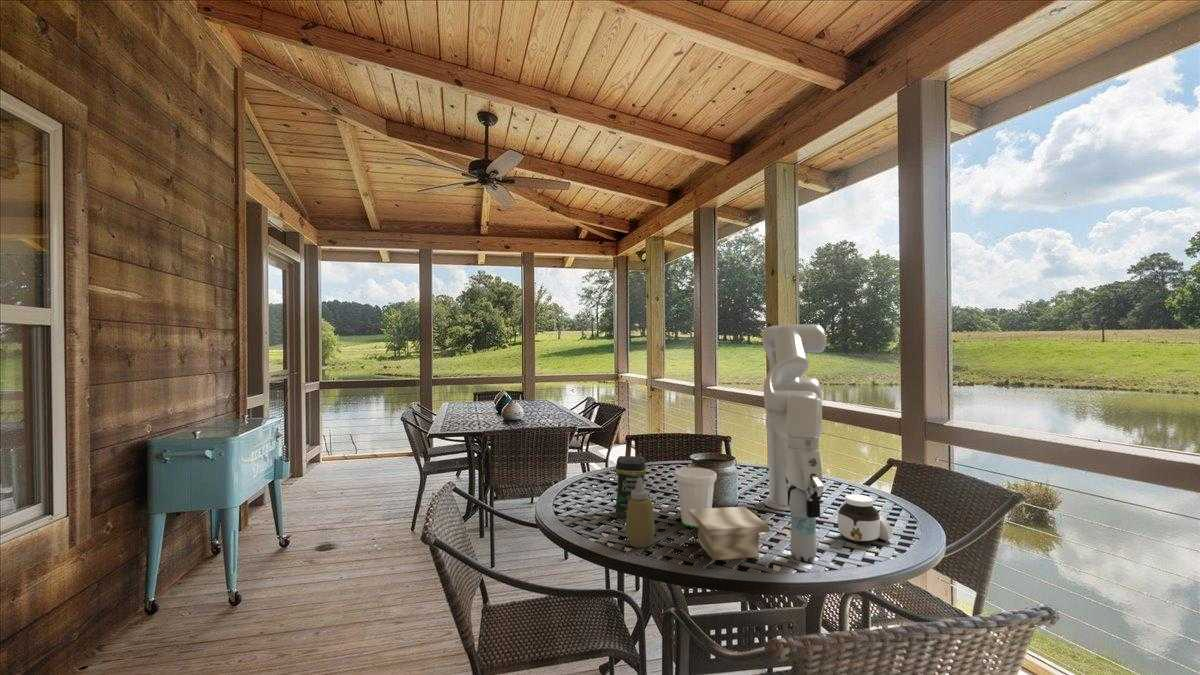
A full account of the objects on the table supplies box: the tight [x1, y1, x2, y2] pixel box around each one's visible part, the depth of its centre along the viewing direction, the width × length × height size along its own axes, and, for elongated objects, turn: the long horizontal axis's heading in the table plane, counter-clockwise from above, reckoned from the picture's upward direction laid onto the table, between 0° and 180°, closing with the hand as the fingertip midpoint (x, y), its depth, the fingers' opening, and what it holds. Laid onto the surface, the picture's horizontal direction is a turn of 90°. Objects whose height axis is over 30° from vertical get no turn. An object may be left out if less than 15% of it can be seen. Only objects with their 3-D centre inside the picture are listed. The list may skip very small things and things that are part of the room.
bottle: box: [789, 487, 818, 562], centre depth 138 cm, size 7×7×20 cm
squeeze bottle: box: [624, 478, 656, 549], centre depth 148 cm, size 8×8×18 cm
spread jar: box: [837, 493, 894, 546], centre depth 150 cm, size 12×11×12 cm
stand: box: [689, 506, 770, 561], centre depth 143 cm, size 16×16×8 cm
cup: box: [674, 467, 718, 529], centre depth 164 cm, size 12×12×15 cm
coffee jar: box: [615, 455, 647, 519], centre depth 172 cm, size 10×8×19 cm
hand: (803, 510), depth 137 cm, fingers open, 9 cm apart
